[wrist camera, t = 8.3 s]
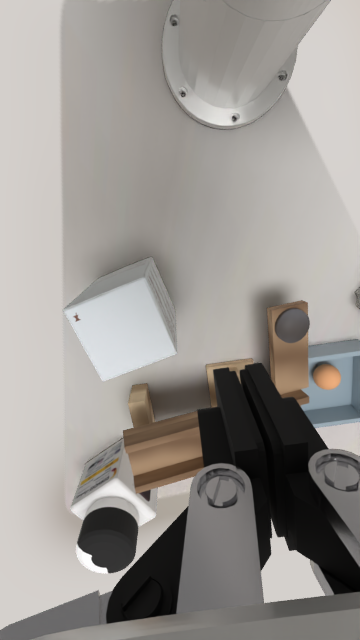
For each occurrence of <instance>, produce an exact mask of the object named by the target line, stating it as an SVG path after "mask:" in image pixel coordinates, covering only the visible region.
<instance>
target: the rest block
mask: <svg viewBox="0 0 360 640" xmlns="http://www.w3.org/2000/svg"><path fill="white" fill-rule="evenodd" d="M128 405H129V409H130V413H131V418H132V422H133V426H134V428H135V427H139V426H142V425H146V424H150V423H154V422H155V418H154V413H153V409H152V404H151V399H150V394H149V389H148V384H147V383H146V384H139V385H132V389H131V393H130V398H129V402H128Z"/></svg>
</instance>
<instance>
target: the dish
mask: <svg viewBox="0 0 360 640" xmlns="http://www.w3.org/2000/svg"><path fill="white" fill-rule="evenodd" d="M323 364H329V365H332V366H334V367H336V368H337V369H338V370H339V372H340V375H341V381H340V384H339V385H338V386H337V387H336V388H334V389H331V390H325V389H322V388H320V387H319V386H317V385H316V383H315V382H314V379H313V373H314V370H315V369H316V368H317V367H318V366H320V365H323ZM308 370H309V387H307V388H304V389H301V390H302V391H303V392H304V393H306V394H307V395H308V396H309V403H308V404H304V405H301V408H302V409H303V411H304V413H305V414H306V416H307V417H308V419H309V420H310V422H311V423H312V425H313V426H314V428H319V427H326V426H333V425H341V424H348V423H355V422H360V341H359V340H358V339H355V340H348V341H340V342H333V343H326V344H319V345H312V346H308Z"/></svg>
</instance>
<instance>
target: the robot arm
mask: <svg viewBox="0 0 360 640" xmlns="http://www.w3.org/2000/svg"><path fill="white" fill-rule="evenodd" d="M330 1H331V0H173V2H172V4H171V6H170V8H169V10H168V13H167V16H166V20H165V24H164V28H163V37H162V59H163V67H164V73H165V76H166V79H167V83H168V86H169V88H170V90H171V92H172V94H173V96H174V98H175V100H176V101H177V102H178V104H179V105H180V106H181V108H182V109H183V110H184V111H185V112H186V113H187V114H188V115H190V116H191V117H192V118H193V119H195V120H197V121H198V122H200V123H201V124H204V125H207V126H209V127H212V128H219V129H233V128H239V127H242V126H245V125H248V124H250V123H252V122H253V121H255V120H257V119H259V118H260V117H261V116H262V115H264V114H265V113H266V112H267V111H268V110H269V109H270V108H271V107H272V106H273V105H274V104H275V103H276V102H277V100H278V99H279V97H280V96H281V95H282V93H283V92H284V90H285V88H286V86H287V84H288V82H289V80H290V78H291V75H292V72H293V68H294V65H295V61H296V55H297V47H298V44H299V43H300V41H301V40H302V39H303V37H304V36H305V35H306V33H307V32H308V31H309V29H310V28H311V26H312V25H313V24H314V22H315V21H316V20H317V18H318V17H319V16H320V14H321V13H322V12H323V10H324V9H325V8H326V6H327V5H328V3H329V2H330ZM173 23H176V24H177V26H172V24H173ZM279 76H280V77H282V81H280V80H279V78H278V77H279ZM181 93H185V95H186V96H185V97H181V95H180V94H181ZM232 117H235V118H236V121H235V122H233V121H232ZM213 376H214V384H215V392H216V399H217V407H213V408H206V409H198V410H197V414H198V422H199V430H200V439H201V447H202V456H203V464H204V468H203V469H202V470H201V471H199V472H198V473H197V474H196V476H195V477H194V479H193V481H192V484H191V489H190V498H189V506H188V507H187V508H186V509H185V510H184V511H183V512H182V513H181V514H180V516H179V517H178V518H177V519H176V520H175V521H174V522H173V523H172V524H171V525H170V526H169V527H168V528H167V530H166V531H165V532H164V533H163V534H162V535H161V536H160V537H159V538H158V539H157V540H156V541H155V542H154V543H153V545H152V546H151V547H150V548H149V549H148V550H147V551H146V552H145V553H144V554H143V555H142V557H140V558H139V560H138V561H137V562H136V563H135V564H134V565H133V566H132V567H131V568H130V569H129V570H128V571H127V572H126V574H125V575H124V576H123V577H122V578H121V579H120V581H119V582H118V583H117V585H116V586H115V587H114V589H113V591H111V592H108V593H105V594H103V595H100V593H99V591H96V592H93V593H90V594H88V595H85V596H82V597H80V598H78V599H75V600H72V601H70V602H67V603H64V604H62V605H59V606H57V607H54V608H52V609H49V610H46V611H44V612H41V613H39V614H36V615H34V616H31V617H28V618H26V619H23V620H21V621H18V622H15V623H13V624H10V625H8V626H6V627H5V628H3V629H2V630H0V640H360V456H358V455H356V454H354V453H352V452H348V451H345V450H340V449H328V447H327V446H326V444H325V443H324V441H323V440H322V438H321V437H320V435H319V434H318V432H317V431H316V429H315V428H314V426H313V425H312V423H311V422H310V420H309V419H308V417H307V416H306V414H305V413H304V411H303V409H302V408H301V406H300V405H299V403H298V402H297V400H296V399H295V398H294V397H286V398H282V397H281V395H280V393H279V392H278V390H277V388H276V387H275V385H274V383H273V382H272V380H271V378H270V377H269V375H268V373H267V371H266V370H265V368H264V366H263V365H262V363H255V364H248V365H245V369H242V370H240V381H239V378H238V376H237V373H236V371H230V370H229V367H227V368H219V369H213ZM240 382H241V384H240ZM271 519H272V522H273V525H274V528H275V531H276V534H277V536H278V537H285V540H286V543H287V545H288V548H289V551H292V550H297V551H298V552H299V553H301V554H302V555H304V556H305V557H307V558H309V559H310V565H311V567H312V570H313V572H314V574H315V576H316V578H317V580H318V582H319V584H320V586H321V588H322V590H323V591H324V593H325V595H326V596H320V597H313V598H304V599H295V600H287V601H278V602H270V603H264V599H263V589H262V580H261V570H262V568H263V567H264V565H265V563H266V562H267V560H268V559H269V557H270V555H271V545H270V538H272V529H271Z"/></svg>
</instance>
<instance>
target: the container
mask: <svg viewBox="0 0 360 640" xmlns="http://www.w3.org/2000/svg"><path fill="white" fill-rule="evenodd" d="M157 491H158V487H157V488H154V489H151V490H147V491H144V492H141V493H137V494H136V491H135V487H134V477H133V473H132V469H131V465H130V461H129V457H128V453H127V454H126V452H125V448H124V438H123V439H121V440H120V441H118V442H117V443H115V444H114V445H112V446H111V447H109V448H108V449H106V450H105V451H104V452H102V453H101V454H99V455H98V456H96V457H95V458H93V459H92V460H90V461H89V462H87V463H86V465H85V468H84V471H83V473H82V476H81V479H80V482H79V485H78V488H77V491H76V493H75V496H74V499H73V502H72V505H71V511H72V512H73V513H74V514H76V515H77V516H78V517H79V518H80V519H82V520H83V524H82V528H81V530H80V534H79V537H78V541H77V544H76V555H77V557H78V559H79V561H80V562H81V564H82V565H83V566H85V567H86V568H88V569H89V570H92V571H94V572H98V573H114V572H118V571H121V570H123V569H124V568H126V567H127V566H128V565H129V564H130V563H131V562H132V561H133V559H134V557H135V553H136V544H137V535H138V527H139V526H141V525H143V524H144V523H146V522H148V521H149V520H151V519H153V518H154V517H155V516H156V507H157Z"/></svg>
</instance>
